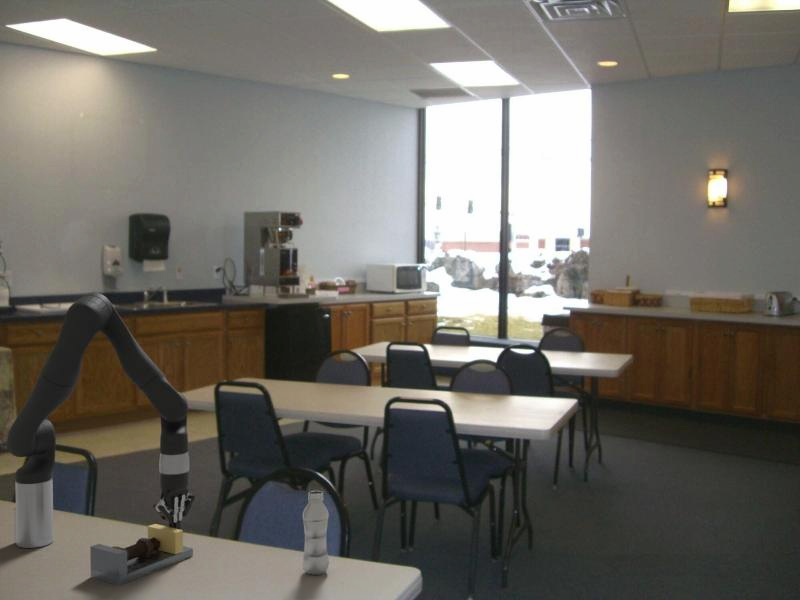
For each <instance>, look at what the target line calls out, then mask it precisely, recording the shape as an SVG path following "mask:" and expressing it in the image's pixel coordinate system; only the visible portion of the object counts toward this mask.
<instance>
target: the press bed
mask: <svg viewBox="0 0 800 600" xmlns="http://www.w3.org/2000/svg"><path fill="white" fill-rule="evenodd" d="M89 549H90V553H89V554H90V578H92V579H96V580H98V581H103V582H105V583H106V582H107V583H109V584H113V585H116V586H122V585H125V584H126V583H129V582H131V581H134V580H137V579H139V578H142V577H145V576H146V575H149V574H152V573H154V572H157V571H159V570H162V569H164V568H167V567H169V566H171V565H174V564H177V563H179V562H182V561H184V560H186V558H187V559H189V558H191V556H192V557H193V556H194V552H193V551H194V548H193V547H189V546H185V545H183V552H180V553H178V554H172V553H168V552H165V551H161V550H155V551H153V552H152V554H151V555H150V556H149V557H147V558H145V557H140V556H139V557H137V558H134V559H131V560H129V561H127V551H124V550H120V549H117V548H113V546H109V545H105V544H101V543H97V544H94V545H91V546H90V547H89Z"/></svg>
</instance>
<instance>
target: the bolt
mask: <svg viewBox="0 0 800 600" xmlns="http://www.w3.org/2000/svg"><path fill="white" fill-rule="evenodd" d="M159 544H160V541H159V540H157V539H156V538H154V537H153V538H151V539H148V537H141V538H138V540H137V541H136V542H135V544H132V545H130V546H126V547H119V546H115V545H114V546H112V547H113V548H117V549H120V550H124V551H127V561H129V560H131V559H134V558H137V557H139V556H140V557H145V558H147V557H149V556H150V555H151V554H152V552H153V551H155V550H157V549H159V547H160V545H159Z"/></svg>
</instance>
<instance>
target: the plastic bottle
mask: <svg viewBox="0 0 800 600" xmlns="http://www.w3.org/2000/svg"><path fill="white" fill-rule="evenodd" d="M307 496H308V497H307V501H308V503H307V505H306V506H305V507H304V509H303V511H302V520H303V521H302V522H303V527H304V530H303V531H304V548H303V551H304V552H303V557H302V569H303V570H304V572H305V573H306V574H308V575H314V576H315V575H316V576H317V575H321V574H325V573H326V572H327V570H329V569H328V568H329V565H330V562H329V559H330V558H329V554H328V545H327V535H328V534H327V531H328V529H327V528H328V521H329V516H330V515H329V511H328V508H327V507H326V505H325V504H324V502H323V501H324V491H321V490H311V491H309V492H308V495H307Z"/></svg>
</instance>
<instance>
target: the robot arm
mask: <svg viewBox="0 0 800 600" xmlns="http://www.w3.org/2000/svg"><path fill="white" fill-rule="evenodd" d="M99 332H101V333H102V334H103V335H104V336H105V337H106V339H107V340H108V341H109V342H110V344H111V346H112V347H113V349H114V351H115V354H116V355H117V358H118V362H119V363H120V365H121V368H122V369H123V372H124V373H125V374H126V376H127V377H128V378H129V380H130V381H131V382H132V383H133V384H134V385H135V386H136V387H137V388H138V389H139V391H140V392H141V393H143V395H145V397H146V398H147V399H148V400H149V402H150V403H151V405H152V406H153V407H154V409H155V410H156V411H157V412H158V413H159V415H160V416H159V417H160V427H161V428H160V429H161V430H160V431H161V432H160V437H159V440H160V441H159V444H160V446H159V448H160V449H159V453H160V454H159V463H158V464H159V466H158V468H159V470H158V471H159V488H160V490H161V494H160V497H159V498H160V500H159V501H158V503H155V504H153V507H152V508H153V510H154V511H155V512H156V513H157V514H158V516H159V517H160V518H161V520H162V521H166V522H167V523H168V527H171V528H175V529H179V530H182V527H181V526H182V525H181V524H182V523H181V522H182V520H183V518H184V517H185V518H186V517H187V516H188V513H189V512H190V509H191V507H192V505H193V503H194V501H195V500H196V499H195V498H196V495H194V494H191V493H189V491H190V490H189V489H188V488H189V486H190V457H189V436H188V430H187V429H188V428H187V425H188V421H187V420H188V411H189V404H188V400H187V398H186V396H185V395H184V394H183V393H181V392H179V391H177V390H176V389H175V388H174V387H173V385H172V384H170V382H169V381H168V379H167V377H166V376H165V374H164V373H163V371H162V370H161V369H160V367H158V366H157V365H156V363H155V362H153V360H152V359H151V358H150V357H149V356H148V354H147V353H146V352H145V351H144V349H143V348H142V347H141V346H140V344H139V343H138V342H137V340H136V339H135V337H134V336H133V334H132V333H131V331H130V330H129V328H128V327H127V324H125V322H124V320H123V319H122V317H121V315H120V314H119V313H118V312H117V309H116V308H115V307H114V305H113V304H112V302H111V301H110V300H109V299H108V298H107V297H106V296H105V295H103V294H102V293H99V292H88V293H86V294H83V296H81V297H80V298H78V299H77V300H76V301H74V302H73V303H72V304H71V305H70V306H69V308H68V310H67V311H66V313H65V317H64V319H63V321H62V325H61V328H60V331H59V335H58V337H57V340H56V342H55V344H54V346H53V348H52V350H51V351H50V353H49V355H48V357H47V359H46V361H44V362H45V363H44V364H43V366H42V368H41V370H40V372H39V375H38V377H37V380H36V381H35V384H34V386H33V388H32V390H31V392H30V394H29V396H28V398H27V400H26V401H25V404H24V405H23V407H22V409H21V410H20V411H19V413H18V415H17V417H16V418H15V419H14V421H13V423H12V424H11V426H10V428H9V431H8V434H7V439H6V444H7V445H6V446H7V450H8V451H9V453H10V454H11V455H12V456H13V457H16V458H26V457H27V458H28V457H30V458H29V459H28V461H27V462H25V464H23V465H22V466H20V467H19V468H17V469H16V471H15V475H14V476H15V480H14V481H15V482H14V483H15V484H14V485H15V507H14V508H13V521H14V522H13V525H14V526H13V527H14V528H13V529H14V533H13V534H14V535H13V536H14V543H15V544H16V547H18V548H23V549H24V548H25V549H29V548H30V549H35V548H42V547H45V546H47V545H50V544H52V543H53V542H54V491H53V490H54V489H53V488H54V487H53V485H54V484H53V483H54V482H53V480H54V479H53V474H54V473H53V472H54V470H55V466H56V465H55V464H56V447H57V446H56V443H57V442H56V441H57V440H56V439H57V437H56V431H55V427H54V424H53V423H52V422H51V421H50V420H49V419H47V418H48V417H49V416H50V415H51V414H53V413H54V412H55V411H56V410H57V409H58V408H60V407H61V406H62V405H64V403H65V402H66V401H68V399H69V398H70V396H71V395H72V394H73V392H74V389H75V388H76V385H77V383H78V381H79V379H80V377H81V373H82V367H83V364H82V363H83V357H84V354H85V352H86V350H87V349H88V347H89V345H90V344H91V342H92V341H93V339H94V338H95V336H96V335H97V334H98V333H99Z"/></svg>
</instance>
